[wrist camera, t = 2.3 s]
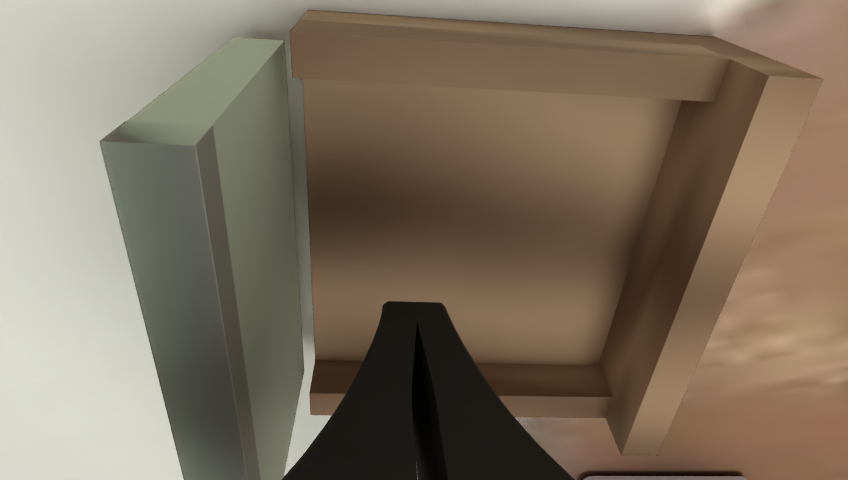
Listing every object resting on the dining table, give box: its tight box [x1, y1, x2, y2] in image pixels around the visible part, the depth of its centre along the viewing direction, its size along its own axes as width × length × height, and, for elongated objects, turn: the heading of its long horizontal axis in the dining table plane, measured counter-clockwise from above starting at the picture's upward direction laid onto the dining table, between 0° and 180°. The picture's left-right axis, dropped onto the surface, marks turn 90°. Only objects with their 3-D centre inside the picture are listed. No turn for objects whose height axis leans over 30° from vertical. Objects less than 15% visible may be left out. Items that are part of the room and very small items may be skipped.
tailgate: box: [99, 37, 304, 480], centre depth 13 cm, size 11×1×7 cm, turn 176°
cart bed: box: [290, 10, 824, 455], centre depth 16 cm, size 12×11×4 cm
